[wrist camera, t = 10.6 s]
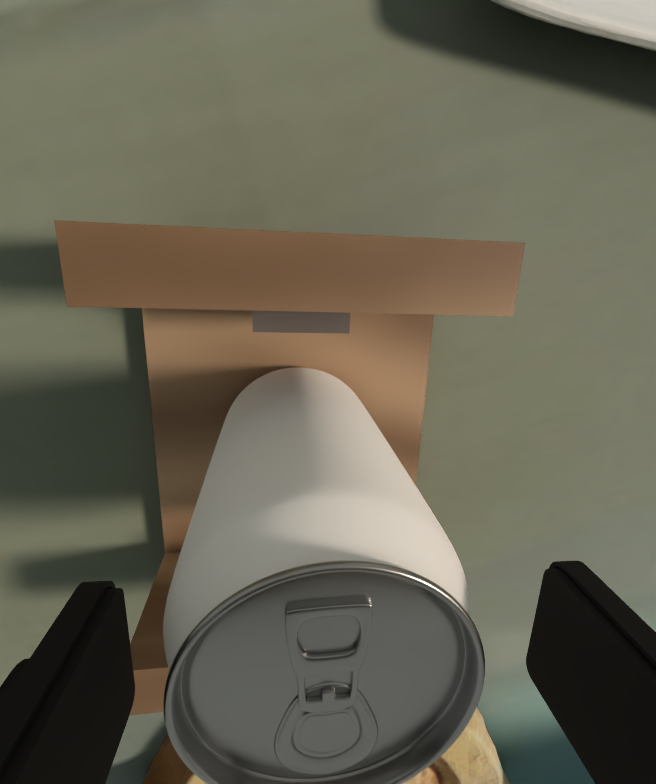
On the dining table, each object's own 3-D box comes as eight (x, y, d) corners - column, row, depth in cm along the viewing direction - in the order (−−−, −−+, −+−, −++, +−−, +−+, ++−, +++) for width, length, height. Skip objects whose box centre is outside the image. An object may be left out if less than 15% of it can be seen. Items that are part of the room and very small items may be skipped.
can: (227, 501, 19) (157, 850, 8) (218, 365, 17) (107, 558, 6) (364, 493, 20) (486, 800, 8) (370, 362, 18) (535, 527, 7)
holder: (400, 559, 23) (453, 681, 16) (172, 573, 21) (126, 715, 14) (431, 251, 18) (525, 242, 11) (143, 239, 16) (54, 220, 10)
